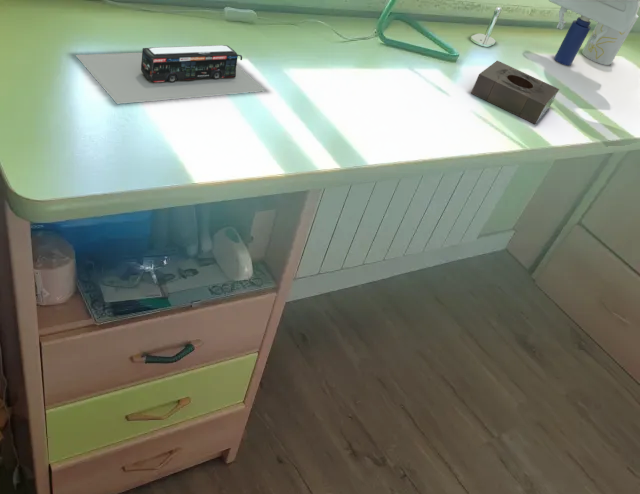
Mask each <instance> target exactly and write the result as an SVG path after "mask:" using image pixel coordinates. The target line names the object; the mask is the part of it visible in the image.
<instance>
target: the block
mask: <svg viewBox="0 0 640 494" xmlns="http://www.w3.org/2000/svg"><path fill="white" fill-rule="evenodd" d="M559 91H560V88H558V87H556V86H555V85H552V84H549V83H548V82H545V81H543V80H541V79H539V78H537V77H534V76H532V75H530V74H527V73H526V72H523V71H521V70H519V69H517V68H514V67H513V66H510V65H508V64H506V63H504V62H502V61H500V60H496V61H494V62H493V63H492V64H491V65H489V66H487V68H485V69H484V70H482V71H481V72H479V74H478V76H477V78H476V81H475V82H474V85H473V88H472V90H471V92H470V93H471V94H472V95H474V96H475V97H478V98H480V99H482V100H484V101H486V102H488V103H490V104H492V105H494V106H496V107H498V108H500V109H502V110H504V111H507V112H509V113H511V114H513V115H515V116H517V117H519V118H521V119H523V120H525V121H528V122H530V123H531V124H534V125H537V123H538V122H539V120H541V118H543V116H544V115H545V113H546V112H547V111H548V110H549V109H550V107H551V106H552V104H553V102H554V101H555V98H556V96H557V95H558V93H559Z"/></svg>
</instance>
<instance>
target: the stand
mask: <svg viewBox="0 0 640 494" xmlns="http://www.w3.org/2000/svg"><path fill="white" fill-rule="evenodd" d="M501 12H502V7H501V6H496V7H495V9H494V11H493V14H492V16H491V19H490V21H489V23H488V26H487V28H486V31H485V32H484V33H475V34H473V35H471V36H470V41H471V42H472V43H474V44H476V45H478V46H481V47H486V48H488V47H492V46H494V45H495V44H496V40H495V38H493V37H492V36H491V35H492V33H493V31H494V28H495V26H496V24H497V22H498V19H499V17H500V15H501Z"/></svg>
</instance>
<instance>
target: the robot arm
mask: <svg viewBox="0 0 640 494" xmlns="http://www.w3.org/2000/svg"><path fill="white" fill-rule="evenodd" d="M548 2H550V3H551V4H555V5H557V6H559V7H560V8H559V11H558V20H559V21H558V23H557V25H556V29H558V30H560V31H562V30H564V28H565V25H566V24H567V21H566V20H565V13H567V12H568V11H571V12H573V13H576V14H578V15H579V16H581V15H582V16H584V17H587V18H589V19H590V21H594V22H596V23H601V24H603V25H604V26H603V28H602V30H604V31H602V32H601V33H599V34H598V35H596V34H594V35H593V36H592V38H591V40H590V41H589V42H590V43H592V44H594V45H595V44H596V42H597V40H598V39H599V37H601V36H602V35H604V34H605V33H607V32H608V30H609V29H610V28H612V29H614V30H617V31H619V32H621V33H624V32H626V31H628V30H629V28H630V27H631V25H632V23H633V21H634V19H635V17H636V15H638V12H639V10H640V0H548Z"/></svg>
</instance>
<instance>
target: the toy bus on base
mask: <svg viewBox="0 0 640 494" xmlns="http://www.w3.org/2000/svg"><path fill="white" fill-rule="evenodd" d="M141 51H142V52H120V53H119V52H118V53H95V54H94V53H92V54H75V57H76V58H77V59H78V60H79V61H80V62H81V64H82V65H83V66H84V68H85V69H87V71H88V72H89V73H90V74H91V76H92V77H93V78H94V79H95V80H96V81H97V82H98V83H99V85H100V86H101V87H102V88H103V89H104V90H105V92H107V94H108V95H109V96H110V97H111V99H112V100H113V101H114V103H116V104H117V105H119V104H120V105H121V104H132V103H142V102H143V103H145V102H156V101H166V100H167V101H168V100H178V99H189V98H190V99H191V98H201V97H212V96H225V95H235V94H247V93H259V92H266V91H267V90H266V89H265V88H264V87H262V85H260V84H259V83H258V82H257V81H256V80H254V78H252V77H251V76H250V75H249V74H248V73H247V72H245V70H244V69H242V68H241V66H240V65H238V58H239V57H240V58H239V59H240V61H242V60H243V55H242V54H239V53H237V52H236V51H235V50H234V49H233V48H232V47H230V46H229V45H227V44H225V45H224V44H217V45H216V44H213V45H212V44H211V45H208V44H207V45H179V46H151V47H142V50H141Z"/></svg>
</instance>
